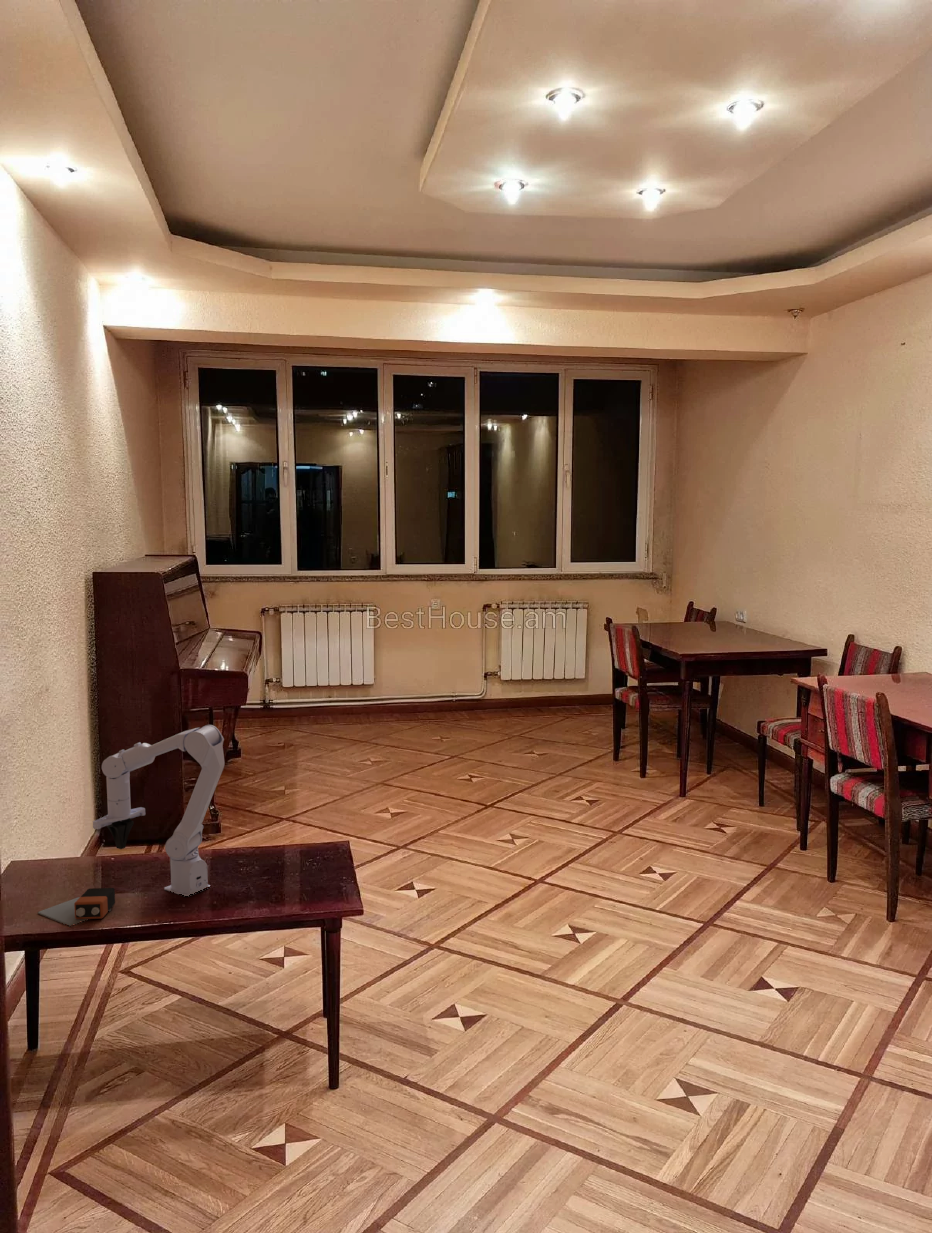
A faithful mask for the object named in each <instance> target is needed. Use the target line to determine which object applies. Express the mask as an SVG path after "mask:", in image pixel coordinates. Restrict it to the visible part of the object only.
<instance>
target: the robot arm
mask: <svg viewBox="0 0 932 1233" xmlns="http://www.w3.org/2000/svg"><path fill="white" fill-rule="evenodd" d="M224 741H225V738H224V736H223V735H222V732H221V731H220V730H219V728H217V726H215V725H213V724H206V725H204V726H202V727H200V726H199V727H195V728H192V729H191V728H190V729H187V730H184V731H182V732H179V733H176V734H175V735H172V736H170V737H168V738H164V739H163V740H161V741H159V742H156V743H154V744H150V743H147V742H143V743H141V742H140V741H139V742H137V743H135V744H133V746H132V747H130V748H128V749H126V750H125V749H120V750H119V751H118V752H117V753H114V754H113V755H109V756H108V757H106V758H105V759H104V760H103V761H102V763H101V770H102V773H103V775H104V776H105V777H106V778H105V779H106V794H107V795H106V796H107V797H106V798H107V800H106V801H107V814H106V815H104V816H103V817H101V818H98V819H95V820H93V821H92V828H93V829H94V830H100V829H102V828H104V827H106V828H107V829H108V831H109V832H110V834H111V836H112V838H113V841H114V843H115V848H116V849H119V850H123V849H125V848H126V846H127V843H128V842H127V841H128V838H129V834H130V832H131V830H132V829H133V828H132V827H133V826H134V824H135V823H134V820H132V819H134V818H136V817H140V816H141V817H142V816H143V817H144V816H146V808H145V807H142V806H140V807H136V808H132V806H131V784H130V778H131V777H130V776H131V774H130V773H131V772H133V771H135V770H137V769H140V768H142V767H145V766H147V765H150V764H152V763H153V762H154V761H155V758H156V757H157V756H160V755H162V754H165V753H168V752H170V751H171V752H172V751H173V750H177V749H179V750H180V751H181V752H186V751H187V753H188V754H189V755H190V756H191V757H192V758H193V759H194V760H195V761H196V763H198V764H199V765H200V767H201V770H200V773H199V775H198V778H197V780H196V783H195V786H194V788H193V791H192V793H191V796H190V799H189V801H188V804H187V806H186V808H185V811H184V814H183V816H182V819H181V820H180V823H179V824H178V825H177V826H176V828H175V829H174V831H173V834H172V836H170V837H169V838H168V839H167V840H166V842H165V844H164V846H165V847H164V850H165V853H166V855H167V856H168V857H169V859H170V860H169V861H170V863H169V864H170V885H168V886H164V888H163V889H164V891H168V892H170V891H171V893H173V892H174V894H177V895H179V894H182V895H184V896H183V897H185V896H188V897H190V896H191V895H190V894H193V895H195V894H196V893H195V892H198V891H200V890H202V891H204V890H203V889H204V888H206V887H210V886H211V885H210V884H209V882H208V879H209V878H208V877H209V876H208V874H209V873H208V865H207V863H206V861H205V860H204V859H202V858H201V856H200V854H199V846H200V845H201V843H202V841H203V829H204V825H203V822H204V819H205V816H206V813H207V811H208V808H209V807H210V803H211V800H212V798H213V796H214V793H215V791H216V788H217V786H218V783H219V780H220V777H221V775H222V774H223V771H224V768H225V763H226V762H225V756H224V748H223V747H224V746H223V745H224ZM210 888H211V887H210ZM200 892H201V891H200ZM194 893H195V894H194ZM198 893H199V892H198ZM182 895H181V896H182ZM189 895H190V896H189Z"/></svg>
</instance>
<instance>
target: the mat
mask: <svg viewBox="0 0 932 1233" xmlns="http://www.w3.org/2000/svg"><path fill="white" fill-rule="evenodd" d="M80 897H81V896H80ZM80 897H79V896H78V897H75V898H72V899H70V900H66V901H64V902H61V903H59V904H56V905H53V906H50V907H48V908H45V909H42V910H40V911H37V914H38V915H40V916H43V917H45V918H48V919H50V920H52V921H55V922H57V923H60V924H62V923H63V925H65V924H67V925H69V926H68V927H70V926H71V925H73V924H76V925H78V924H77V923H79V922H80V921H84V922H86V921H88V920H87V919H75V907H74V903H75V902H76V901H77V900H78V899H79V898H80ZM111 911H112V908H111V909H110V910H109V912H111ZM85 920H86V921H85ZM79 924H80V923H79ZM67 925H66V926H67ZM71 927H72V926H71Z"/></svg>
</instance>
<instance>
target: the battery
mask: <svg viewBox="0 0 932 1233" xmlns="http://www.w3.org/2000/svg"><path fill="white" fill-rule="evenodd" d="M115 904H116V891H115V888H114V887H99V888H98V887H97V888H95V887H94V888H88V889H87V890H85V892H84V893H82V894H81V896H80V898H79V899H78V900H77V901H76V902H75V903H74V907H75V919H89V920H93V919H95V920H97V919H98V920H99V919H103V918H104V917H105V916H106V914H108V913H109V912H110V911H109V910H110V909H111V910H112V907H113V906H114V905H115ZM108 911H109V912H108Z"/></svg>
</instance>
